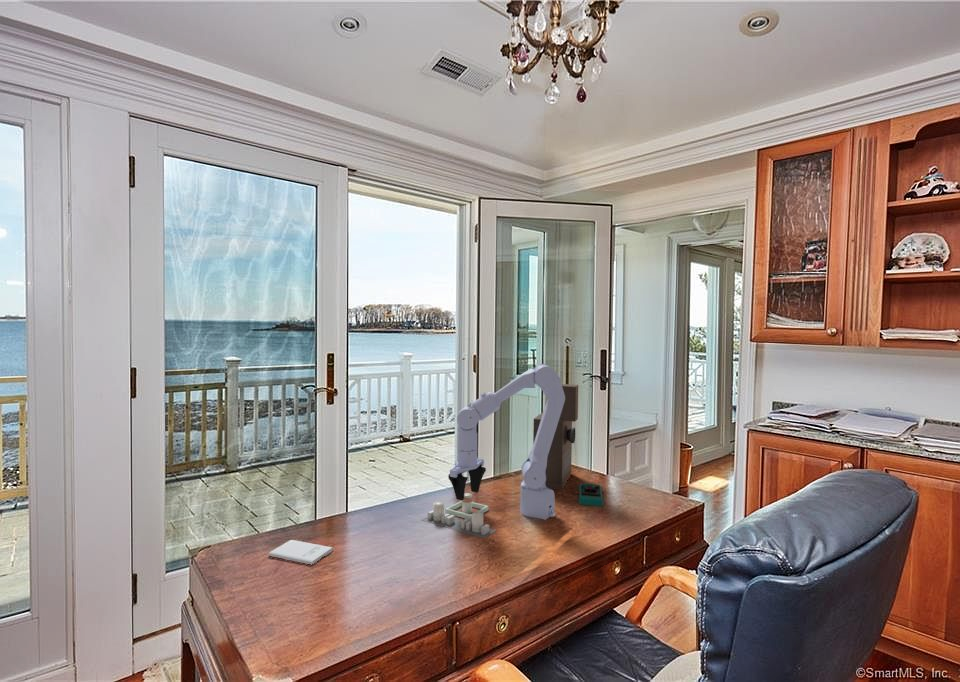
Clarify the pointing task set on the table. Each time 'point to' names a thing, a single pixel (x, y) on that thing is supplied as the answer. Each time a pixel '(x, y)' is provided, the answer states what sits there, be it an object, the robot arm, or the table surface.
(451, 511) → the tray
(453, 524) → the fuse board
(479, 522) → the cylinder
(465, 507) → the cylinder
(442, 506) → the white glossy rounded part
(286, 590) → the table surface
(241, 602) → the table surface
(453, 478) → the robot arm
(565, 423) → the tall box with knob
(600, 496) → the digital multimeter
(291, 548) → the external hard drive
